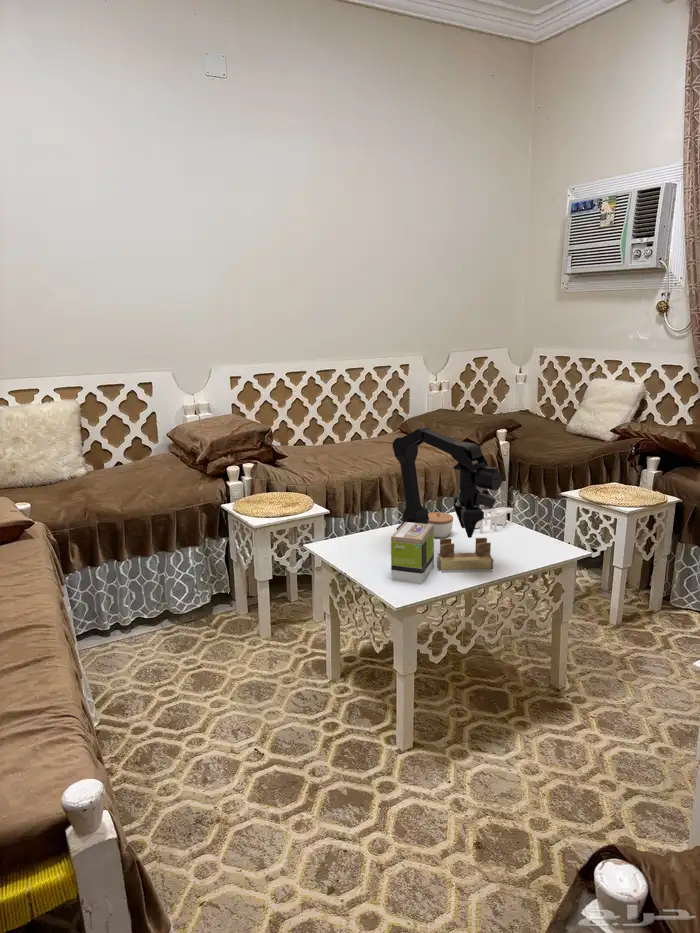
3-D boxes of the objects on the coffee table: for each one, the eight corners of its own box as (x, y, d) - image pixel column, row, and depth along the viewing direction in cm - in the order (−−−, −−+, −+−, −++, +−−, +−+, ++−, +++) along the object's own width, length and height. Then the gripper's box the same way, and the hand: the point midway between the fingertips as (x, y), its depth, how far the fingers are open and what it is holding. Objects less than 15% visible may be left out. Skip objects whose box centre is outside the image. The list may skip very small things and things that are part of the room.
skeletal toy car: (504, 522, 253) (504, 504, 251) (520, 531, 243) (521, 512, 241) (458, 529, 246) (459, 510, 244) (474, 538, 236) (474, 518, 234)
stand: (440, 562, 213) (441, 544, 211) (437, 555, 218) (438, 538, 217) (492, 561, 213) (493, 543, 212) (487, 554, 219) (488, 537, 218)
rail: (438, 570, 205) (439, 560, 204) (436, 566, 208) (437, 556, 207) (492, 569, 206) (493, 559, 205) (489, 565, 209) (490, 555, 208)
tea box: (404, 563, 212) (405, 520, 209) (434, 567, 208) (435, 523, 205) (390, 581, 198) (390, 535, 195) (422, 585, 195) (423, 538, 191)
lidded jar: (424, 541, 232) (424, 516, 230) (422, 532, 242) (422, 508, 240) (454, 542, 232) (455, 516, 229) (450, 532, 242) (451, 508, 240)
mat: (441, 573, 203) (441, 572, 203) (437, 565, 210) (437, 564, 210) (492, 572, 204) (492, 571, 204) (486, 564, 211) (486, 562, 211)
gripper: (501, 492, 193) (499, 542, 196) (486, 477, 211) (484, 522, 214) (464, 492, 192) (463, 542, 196) (452, 477, 210) (451, 523, 214)
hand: (466, 532), depth 205 cm, fingers open, 9 cm apart
